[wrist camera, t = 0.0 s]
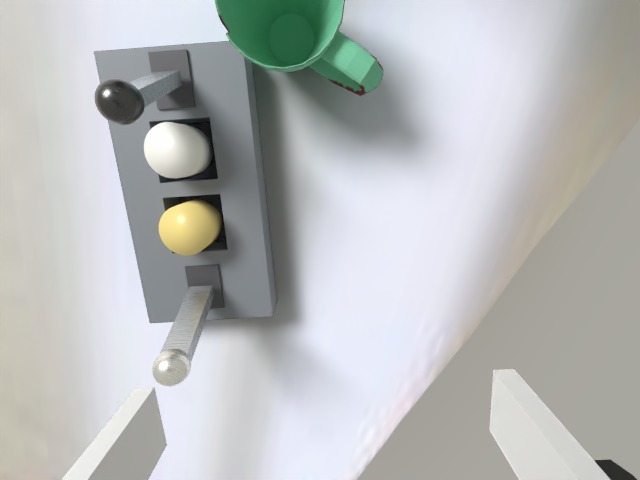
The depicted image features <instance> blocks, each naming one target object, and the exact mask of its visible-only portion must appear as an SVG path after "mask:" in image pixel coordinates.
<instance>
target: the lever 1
mask: <svg viewBox="0 0 640 480" xmlns="http://www.w3.org/2000/svg"><path fill="white" fill-rule="evenodd" d="M181 85H183V82H182V78H181V75H180V71H179V70H175V71H162V72H153V73H150V74H148V75H145V76H143V77H141V78H138V79H136V80H133V81H131V82H128V81H125V80H122V79H116V78H113V79H108V80H105V81H104V82H102V83H101V84H100V85H99V86H98V87H97V89H96V92H95V103H96V106H97V108H98V110H99V112H100V113H101V114H102V115H103V116H104V117H105V118H106V119H107V120H109V121H111V122H113V123H116V124H120V125H129V124H132V123H135V122H136V121H138V120H139V119H140V118H141V116H142V115H143V113H144V108H145V107H146V106H148V105H150V104H151V103H153V102H155V101H156V100H158V99H160V98H161V97H163V96H165V95H166V94H168V93H170V92H171V91H173V90H175V89H176V88H178V87H180V86H181Z"/></svg>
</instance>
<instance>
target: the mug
mask: <svg viewBox="0 0 640 480" xmlns="http://www.w3.org/2000/svg"><path fill="white" fill-rule="evenodd" d="M344 3H345V0H215V4H216V8H217V11H218V15H219V17H220V20H221V22H222V24H223V25H224V26H225V28H226V29H227V31H228V32H229V33H226V35H227V37H228V39H229V41H230V43H231V44H232V45H233V46H234V47H235V48H236V49H237V50H238V51H239V52H240V53H241V54H242V55H243V56H244V57H245V58H246V59H247V60H249V61H250V62H252V63H254V64H256V65H258V66H260V67H262V68H264V69H266V70H273V71H280V72H292V71H297V70H302V69H304V68H306V67H307V66H308V67H310V68H311V69H313V70H314V71H316V72H318V73H319V74H321V75H322V76H324V77H325V78H327V79H329V80H330V81H332V82H333V83H335V84H337V85H339V86H341V87H343V88H345V89H347V90H349V91H352V92H354V93H356V94H358V95H360V96H361V95H363V94H365V93H367V92H369V91H371V90H373V89H375V88H376V87H377V86H378V85H379V84H380V81H381V79H382V77H383V68H382V67H381V65H380V64H379V62H378V61H377V59H376V58H375V57H374V56H372V55H371V54H370V53H368V52H367V51H366V50H365V49H363V48H362V47H361V46H359V45H358V44H356V43H355V42H353V41H352V40H350V39H349V38H348V37H346V36H345V35H343V34H342V33H340V32H339V31H338V30H339V27H340V25H341V23H342V18H343V10H344Z"/></svg>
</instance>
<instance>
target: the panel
mask: <svg viewBox="0 0 640 480" xmlns="http://www.w3.org/2000/svg"><path fill="white" fill-rule="evenodd" d="M94 55H95V60H96V65H97V70H98V74H99V79H100V84H101V83H102V82H104V81H105V80H108V79H113V78H116V79H122V80H125V81H128V82H131V81H133V80H136V79H138V78H141V77H143V76H145V75H148V74H150V73H153V72H162V71H175V70H179V71H180V75H181V78H182V82H183V85H181V86H180V87H178V88H176V89H175V90H173V91H171V92H170V93H168V94H166V95H165V96H163V97H161V98H160V99H158V100H156V101H155V102H153V103H151V104H150V105H148V106H146V107H145V108H144V113H143V115H142V116H141V118H140V119H139V120H138V121H136V122H135V123H132V124H129V125H120V124H116V123H113V122H111V121H109V120H108V123H109V128H110V133H111V138H112V142H113V147H114V152H115V157H116V162H117V167H118V171H119V176H120V181H121V186H122V191H123V196H124V201H125V205H126V210H127V215H128V220H129V225H130V230H131V235H132V239H133V244H134V249H135V254H136V259H137V264H138V269H139V273H140V278H141V283H142V288H143V293H144V298H145V303H146V307H147V312H148V317H149V322H150V323H163V322H174V321H175V319H176V317H177V314H178V312H179V310H180V308H181V305H182V303H183V301H184V299H185V297H186V294H187V292H188V290H189V288H190V287H193V286H210V285H212V286H213V289H214V293H215V295H214V298H213V301H212V303H211V306H210V309H209V312H208V315H207V318H206V320H217V319H235V318H252V317H270V316H273V313H274V310H275V307H276V304H277V295H276V286H275V276H274V267H273V257H272V248H271V238H270V229H269V219H268V209H267V200H266V190H265V181H264V171H263V162H262V152H261V143H260V133H259V123H258V114H257V104H256V95H255V85H254V76H253V66H252V62H250V61H249V60H247V59H246V58H245V57H244V56H243V55H242V54H241V53H240V52H239V51H238V50H237V49H236V48H235V47H234V46H233V45H232V44H231V43H230V41H221V42H208V43H195V44H182V45H169V46H157V47H144V48H131V49H118V50H105V51H94ZM163 122H174V123H179V124H182V123H196V122H210V124H211V131H212V139H213V146H214V153H215V161H216V168H217V175H218V177H216V178H201V179H186V180H176V178H167V177H164V176H162V175H160V174H158V173H157V172H155V171H154V170H153V169H152V168H151V166H150V165H149V164H148V162H147V160H146V157H145V154H144V141H145V138H146V135H147V134H148V132H149V131H150V130H151V129H152V128H153V127H154V126H156V125H157V124H160V123H163ZM214 194H220V197H221V204H222V212H223V219H224V226H225V234H226V241H227V242H212V243H211V244H209V245H208V246H207V247H206V248H204V249H203V250H202V251H201V252H199V253H197V254H194V255H189V256H185V255H180V254H177V253H175V252H173V251H171V250H170V249H169V248H167V247H166V245H165V244H164V243H163V241H162V239H161V237H160V234H159V222H160V219H161V217H162V215H163V214H164V213H165V211H167V210H168V209H169V208H171V207H174V206H176V205H179V204H180V200H179V197H183V196H198V195H214Z"/></svg>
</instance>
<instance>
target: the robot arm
mask: <svg viewBox="0 0 640 480" xmlns="http://www.w3.org/2000/svg"><path fill="white" fill-rule="evenodd" d="M490 432H491V433H492V435H493V437H494V438H495V440H496V442H497V444H498V445H499V447H500V449H501V450H502V452H503V453H504V455H505V457H506V459H507V460H508V462H509V464H510V465H511V467H512V469H513V470H514V472H515V474H516V476H517V477H518V479H519V480H637V479H636V478H635V477H634V476H633V475H632V474H630V473H629V472H627V471H626V470H624V469H623V468H621V467H620V466H619V465H617V464H616V463H614V462H613V461H612V460H593V459H592V458H591V457H590V455H589V454H588V453H587V452H586V451H585V450H584V449H583V447H582V446H581V445H580V444H579V443H578V442H577V441H576V440H575V438H574V437H573V436H572V435H571V434H570V433H569V431H568V430H567V429H566V428H565V427H564V426H563V425H562V423H561V422H560V421H559V420H558V419H557V418H556V417H555V415H554V414H553V413H552V412H551V411H550V410H549V409H548V407H547V406H546V405H545V404H544V403H543V402H542V401H541V400H540V398H539V397H538V396H537V395H536V394H535V393H534V392H533V390H532V389H531V388H530V387H529V386H528V385H527V383H526V382H525V381H524V380H523V379H522V378H521V377H520V375H519V374H518V373H517V372H516V371H515V370H514V369H503V370H493V385H492V400H491V416H490ZM166 445H167V444H166V439H165V435H164V430H163V425H162V420H161V416H160V411H159V406H158V402H157V397H156V392H155V388H154V387H147V388H135V389H134V390H133V391H132V393H131V394H130V395H129V396H128V398H127V399H126V400H125V401H124V403H123V404H122V405H121V406H120V408H119V409H118V410H117V411H116V413H115V414H114V415H113V416H112V418H111V419H110V420H109V421H108V423H107V424H106V425H105V426H104V428H103V429H102V430H101V431H100V433H99V434H98V435H97V436H96V438H95V439H94V440H93V441H92V443H91V444H90V445H89V446H88V448H87V449H86V450H85V451H84V453H83V454H82V455H81V456H80V458H79V459H78V460H77V461H76V463H75V464H74V465H73V466H72V468H71V469H70V470H69V471H68V473H67V474H66V475H65V476H64V478H63V479H62V480H148V479H149V477H150V475H151V473H152V471H153V470H154V468H155V466H156V464H157V462H158V460H159V458H160V457H161V455H162V453H163V451H164V449H165V447H166Z"/></svg>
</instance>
